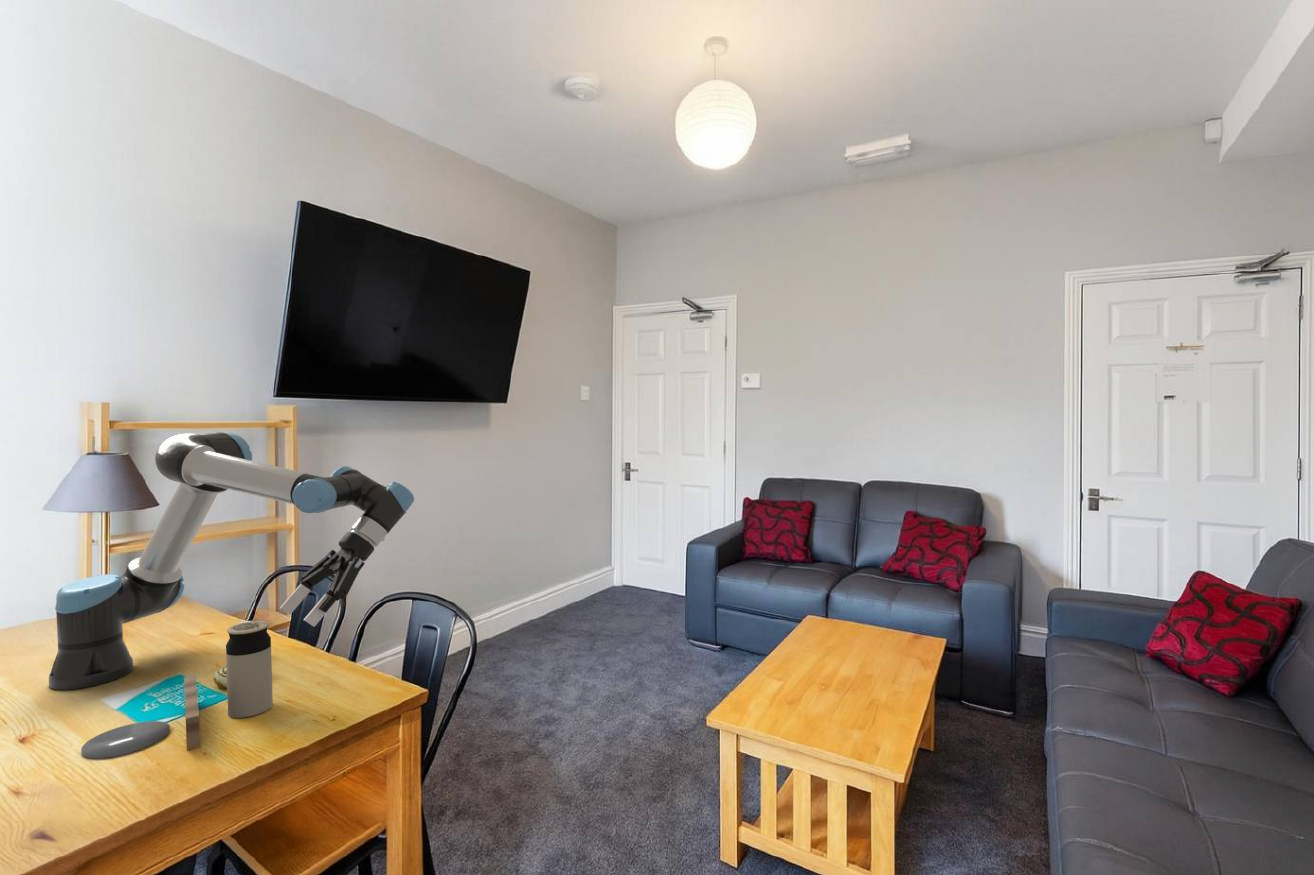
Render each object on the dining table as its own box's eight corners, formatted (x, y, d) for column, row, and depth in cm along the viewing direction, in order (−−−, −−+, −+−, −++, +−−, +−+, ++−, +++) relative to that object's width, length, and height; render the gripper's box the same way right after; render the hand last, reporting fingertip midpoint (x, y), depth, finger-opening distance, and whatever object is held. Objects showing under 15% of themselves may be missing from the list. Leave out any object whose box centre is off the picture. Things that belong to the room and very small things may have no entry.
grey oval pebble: (61, 760, 113) (61, 757, 113) (118, 725, 126) (118, 722, 126) (136, 757, 114) (136, 753, 114) (185, 722, 127) (185, 719, 127)
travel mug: (239, 722, 127) (236, 635, 127) (220, 713, 131) (218, 628, 131) (280, 707, 134) (277, 623, 133) (261, 698, 138) (258, 617, 138)
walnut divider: (200, 747, 118) (199, 715, 117) (186, 750, 116) (185, 718, 116) (196, 702, 137) (195, 675, 136) (185, 704, 135) (184, 677, 135)
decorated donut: (225, 696, 140) (225, 679, 140) (206, 685, 146) (205, 669, 146) (275, 680, 148) (275, 664, 148) (255, 669, 155) (254, 654, 154)
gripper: (399, 555, 144) (333, 637, 133) (350, 542, 160) (288, 615, 149) (375, 535, 140) (305, 619, 129) (328, 524, 156) (262, 598, 145)
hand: (296, 617), depth 139 cm, fingers open, 13 cm apart
